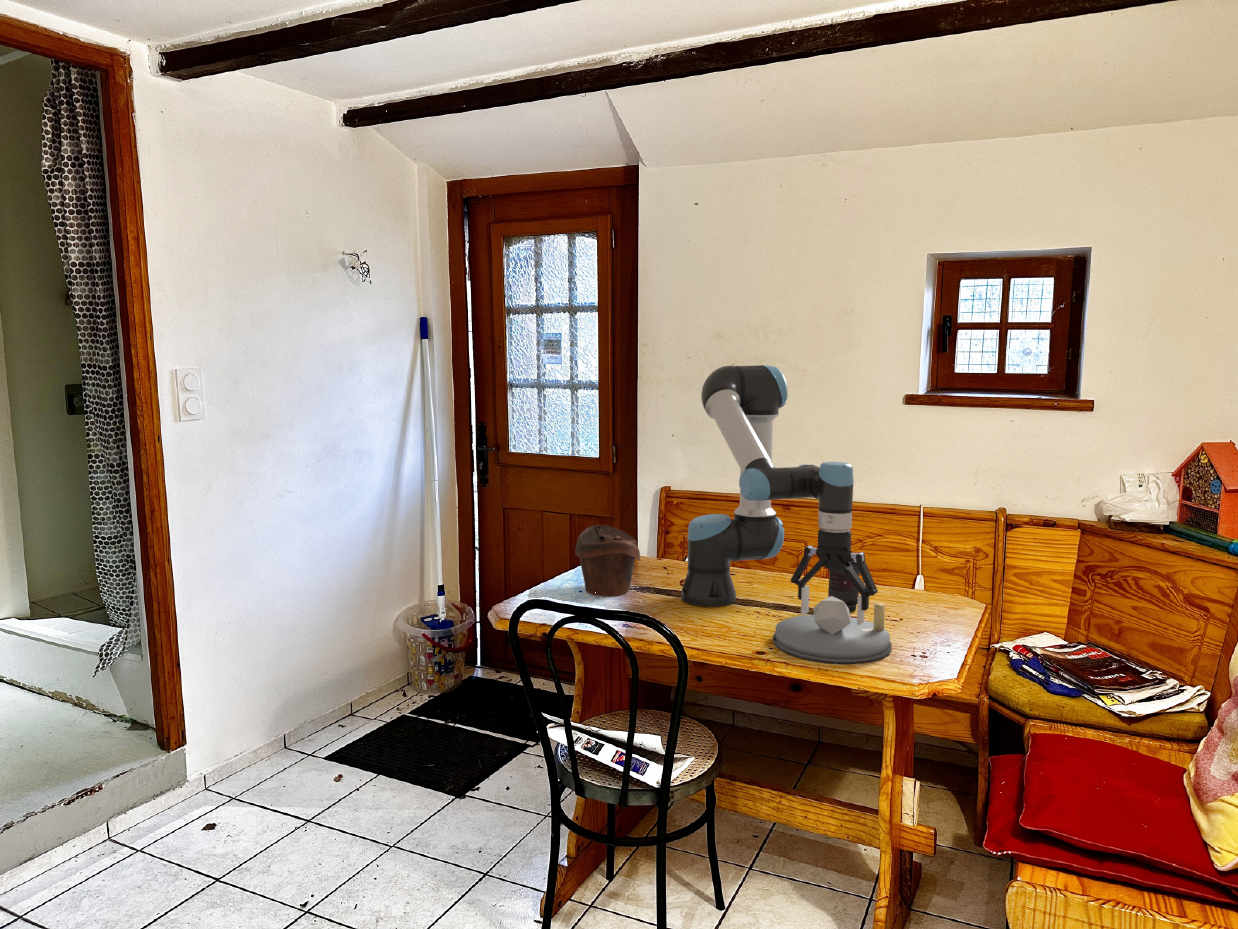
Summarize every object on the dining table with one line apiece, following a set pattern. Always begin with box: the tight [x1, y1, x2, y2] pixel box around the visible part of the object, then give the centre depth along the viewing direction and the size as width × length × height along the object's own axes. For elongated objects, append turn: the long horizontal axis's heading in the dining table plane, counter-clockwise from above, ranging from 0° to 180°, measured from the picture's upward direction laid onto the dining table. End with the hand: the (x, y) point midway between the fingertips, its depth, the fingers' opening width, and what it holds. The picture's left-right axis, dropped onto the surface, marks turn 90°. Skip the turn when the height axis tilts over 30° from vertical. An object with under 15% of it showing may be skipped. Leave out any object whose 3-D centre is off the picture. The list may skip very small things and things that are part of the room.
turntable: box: [774, 602, 891, 659], centre depth 200 cm, size 26×26×8 cm
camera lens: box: [827, 558, 861, 613], centre depth 228 cm, size 8×8×15 cm
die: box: [813, 596, 851, 635], centre depth 200 cm, size 8×9×10 cm
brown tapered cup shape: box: [574, 524, 641, 597], centre depth 245 cm, size 18×20×18 cm
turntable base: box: [772, 632, 893, 665], centre depth 201 cm, size 27×27×1 cm
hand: (832, 618), depth 200 cm, fingers open, 13 cm apart
